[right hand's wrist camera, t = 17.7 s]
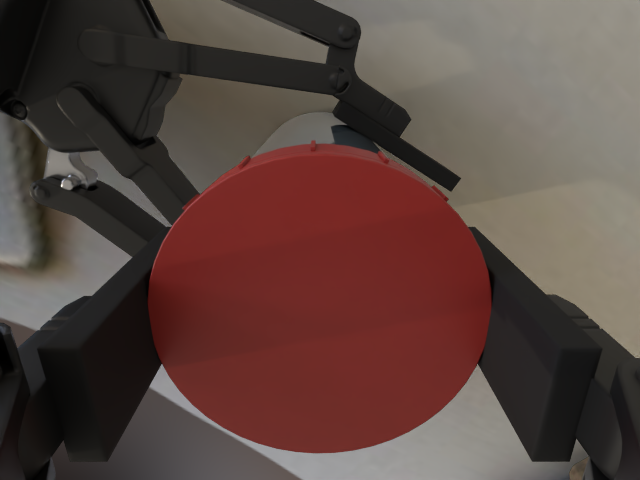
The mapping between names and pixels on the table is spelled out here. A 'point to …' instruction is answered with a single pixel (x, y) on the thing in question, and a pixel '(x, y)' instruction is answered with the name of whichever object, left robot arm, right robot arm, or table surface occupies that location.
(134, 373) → the right robot arm
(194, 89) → the table surface
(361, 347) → the lid
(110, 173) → the table surface
